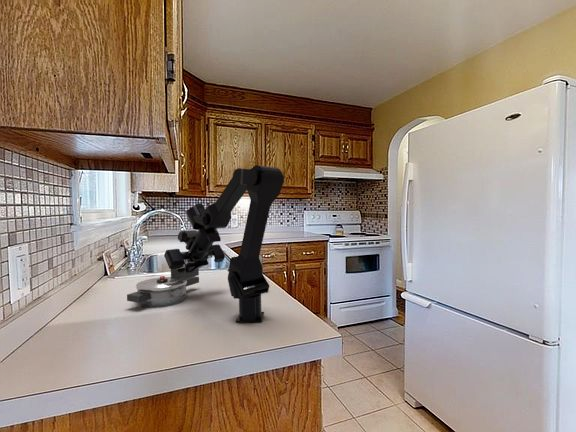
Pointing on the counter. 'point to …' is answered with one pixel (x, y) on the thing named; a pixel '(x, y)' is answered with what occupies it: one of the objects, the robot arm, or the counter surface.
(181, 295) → the grey round flat pan
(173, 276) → the lid
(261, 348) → the counter surface
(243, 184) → the robot arm
